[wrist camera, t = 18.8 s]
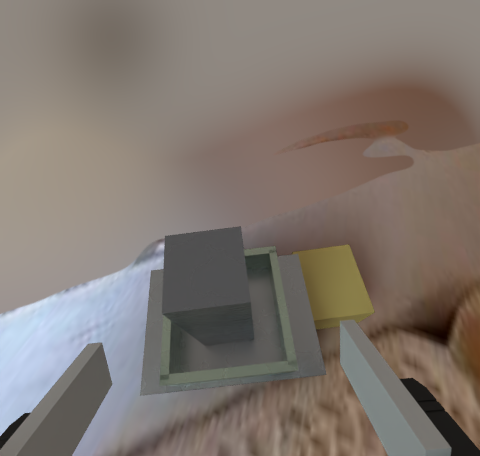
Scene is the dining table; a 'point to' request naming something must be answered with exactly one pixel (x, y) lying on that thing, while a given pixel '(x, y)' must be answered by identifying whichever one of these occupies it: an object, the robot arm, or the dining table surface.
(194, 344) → the box
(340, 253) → the block
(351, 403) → the dining table surface
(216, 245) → the pin
